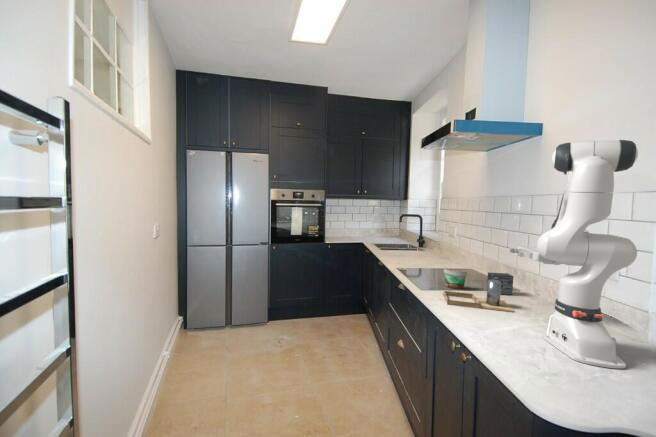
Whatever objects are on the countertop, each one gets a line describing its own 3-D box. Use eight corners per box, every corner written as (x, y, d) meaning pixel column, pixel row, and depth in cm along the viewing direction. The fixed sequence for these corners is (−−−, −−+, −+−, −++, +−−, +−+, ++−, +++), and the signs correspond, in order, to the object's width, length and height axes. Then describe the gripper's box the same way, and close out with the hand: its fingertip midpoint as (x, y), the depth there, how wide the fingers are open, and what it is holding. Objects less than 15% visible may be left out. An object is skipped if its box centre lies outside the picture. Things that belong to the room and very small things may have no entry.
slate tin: (501, 306, 131) (503, 283, 130) (488, 305, 132) (489, 282, 131) (497, 302, 136) (499, 280, 135) (484, 301, 137) (486, 279, 137)
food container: (443, 288, 157) (444, 270, 156) (442, 285, 163) (443, 268, 162) (467, 291, 153) (469, 273, 152) (466, 288, 159) (467, 270, 158)
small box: (506, 291, 155) (507, 272, 154) (512, 295, 148) (514, 276, 148) (485, 290, 156) (487, 271, 155) (491, 294, 150) (493, 274, 149)
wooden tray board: (515, 312, 126) (515, 307, 125) (447, 304, 133) (447, 300, 132) (504, 301, 139) (504, 297, 139) (443, 294, 146) (443, 290, 146)
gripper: (538, 244, 137) (506, 242, 140) (562, 250, 117) (524, 249, 120) (537, 256, 137) (505, 255, 141) (561, 266, 118) (523, 263, 121)
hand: (514, 252), depth 130 cm, fingers open, 8 cm apart
